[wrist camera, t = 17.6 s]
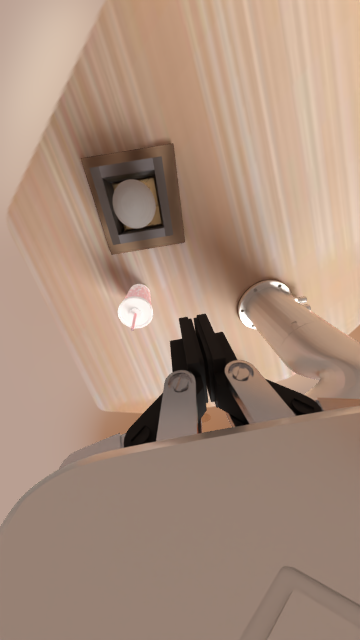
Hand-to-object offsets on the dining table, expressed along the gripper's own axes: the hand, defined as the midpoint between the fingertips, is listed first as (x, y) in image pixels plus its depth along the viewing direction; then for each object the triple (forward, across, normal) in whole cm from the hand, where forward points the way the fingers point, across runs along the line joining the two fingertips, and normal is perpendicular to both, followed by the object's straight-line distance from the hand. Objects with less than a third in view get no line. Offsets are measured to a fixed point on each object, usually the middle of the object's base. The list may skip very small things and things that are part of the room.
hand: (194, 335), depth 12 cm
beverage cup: (+29, +8, +8) cm, 31 cm away
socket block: (+29, +4, -8) cm, 30 cm away
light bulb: (+27, +4, -8) cm, 29 cm away
